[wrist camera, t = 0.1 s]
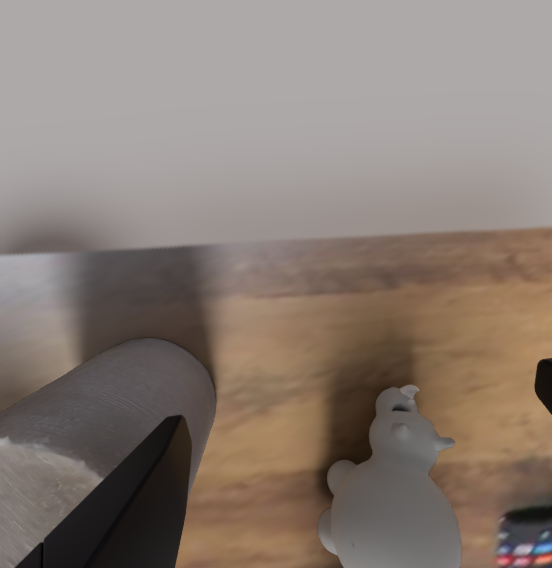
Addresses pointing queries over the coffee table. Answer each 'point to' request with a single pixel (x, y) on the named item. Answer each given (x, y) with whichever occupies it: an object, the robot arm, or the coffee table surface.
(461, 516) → the coffee table surface
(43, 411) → the pillar candle
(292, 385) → the coffee table surface
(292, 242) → the coffee table surface
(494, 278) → the coffee table surface
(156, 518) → the robot arm
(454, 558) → the chubby cartoon animal
